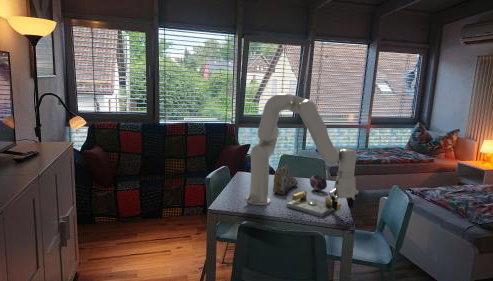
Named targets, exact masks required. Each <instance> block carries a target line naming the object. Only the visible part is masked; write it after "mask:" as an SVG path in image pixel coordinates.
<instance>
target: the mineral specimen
mask: <svg viewBox="0 0 493 281" xmlns="http://www.w3.org/2000/svg"><path fill="white" fill-rule="evenodd" d="M309 184H310V187H311V188H312V189H313V190H315V191H323V190H325V189H326V188H327V187H328V182H327V179H326V177H325V176H324V175H323V174H318V173H317V174H315V175H312V176H311V177H310V178H309Z"/></svg>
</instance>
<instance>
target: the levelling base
mask: <svg viewBox="0 0 493 281" xmlns="http://www.w3.org/2000/svg"><path fill="white" fill-rule="evenodd" d="M286 208H290V209H293V210H297V211H300V212H303V213H305V214H311V215H313V216H316V217H319V218H324V217H325V216H327V215H328V214H331V213H332V212H334V211H336V210H335V209H334V208H332V206H326V205H325V200H320V199H317V198H313V197H309V196H307V198H306V199H298V200H296V201H295V200H291V201H288V202H287V203H286Z"/></svg>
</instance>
